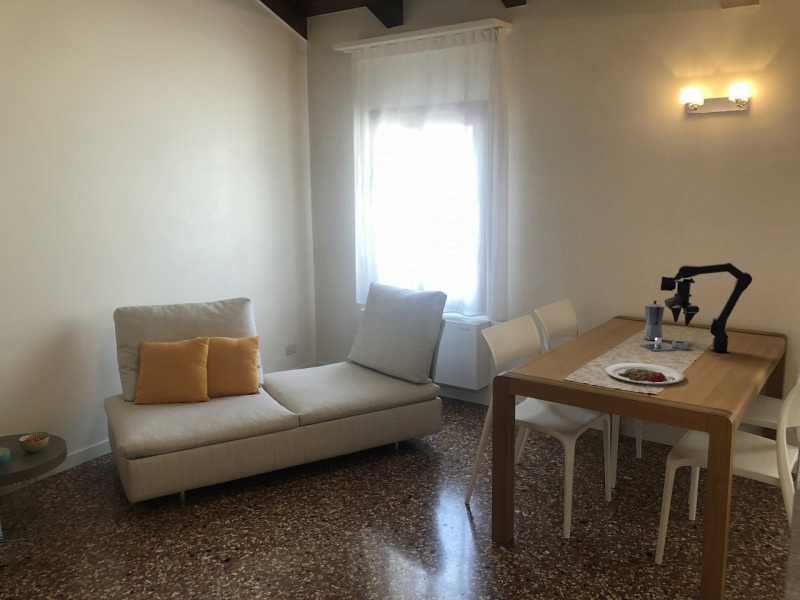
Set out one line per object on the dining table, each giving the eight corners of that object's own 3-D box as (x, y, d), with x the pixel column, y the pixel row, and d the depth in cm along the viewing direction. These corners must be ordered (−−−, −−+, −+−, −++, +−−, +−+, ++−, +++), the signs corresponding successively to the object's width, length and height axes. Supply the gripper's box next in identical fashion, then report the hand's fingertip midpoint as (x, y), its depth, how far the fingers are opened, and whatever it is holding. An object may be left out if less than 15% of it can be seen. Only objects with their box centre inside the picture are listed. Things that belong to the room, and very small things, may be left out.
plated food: (621, 363, 281) (621, 356, 281) (693, 375, 263) (694, 367, 262) (594, 378, 258) (594, 370, 258) (670, 392, 240) (671, 383, 239)
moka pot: (658, 336, 335) (660, 298, 332) (667, 343, 320) (670, 303, 316) (639, 336, 336) (641, 298, 333) (648, 342, 321) (650, 303, 317)
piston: (676, 350, 304) (677, 340, 303) (652, 351, 302) (653, 341, 301) (662, 344, 316) (663, 335, 315) (639, 345, 314) (640, 335, 313)
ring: (689, 349, 306) (689, 343, 305) (677, 350, 305) (677, 343, 304) (681, 346, 312) (682, 340, 311) (669, 347, 311) (670, 341, 311)
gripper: (657, 289, 312) (655, 320, 315) (678, 295, 294) (676, 328, 296) (678, 288, 314) (676, 320, 316) (701, 294, 295) (698, 327, 298)
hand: (680, 323), depth 307 cm, fingers open, 9 cm apart
